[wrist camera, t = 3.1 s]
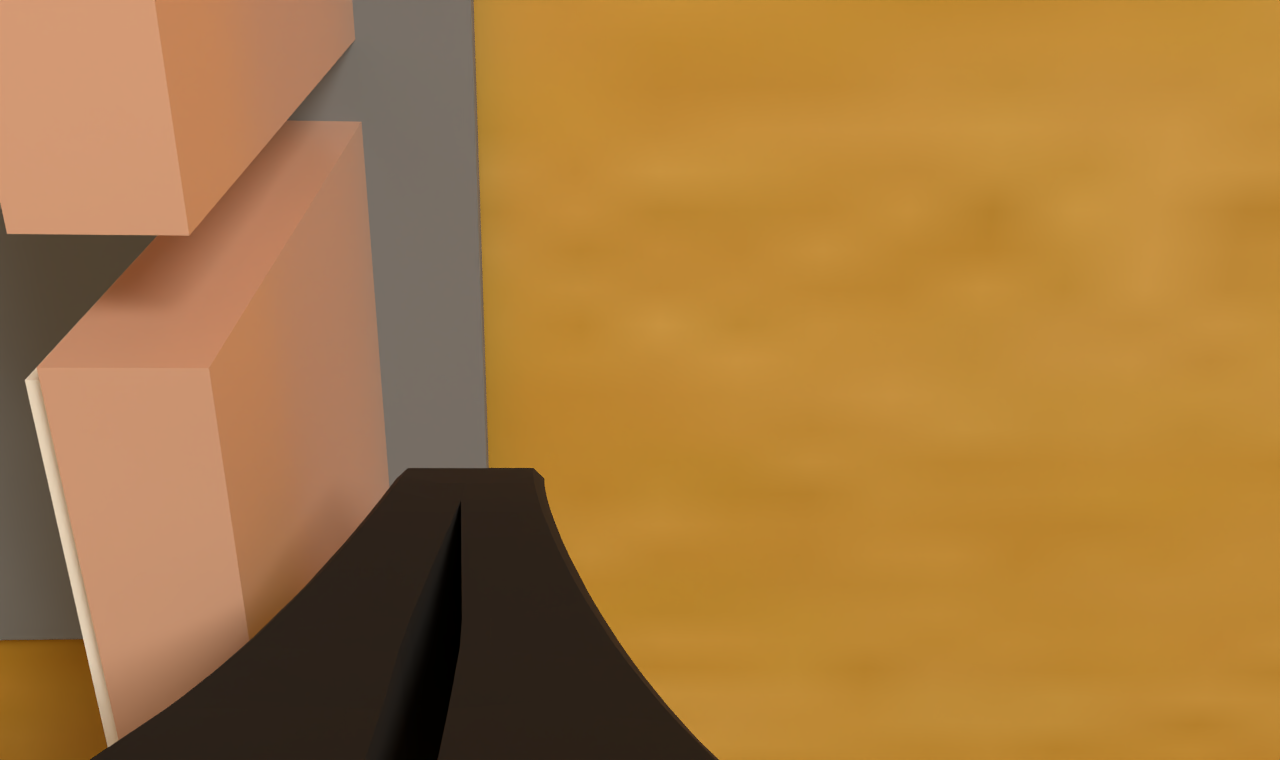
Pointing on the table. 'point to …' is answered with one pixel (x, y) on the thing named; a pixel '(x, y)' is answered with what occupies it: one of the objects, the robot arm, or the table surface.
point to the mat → (402, 271)
